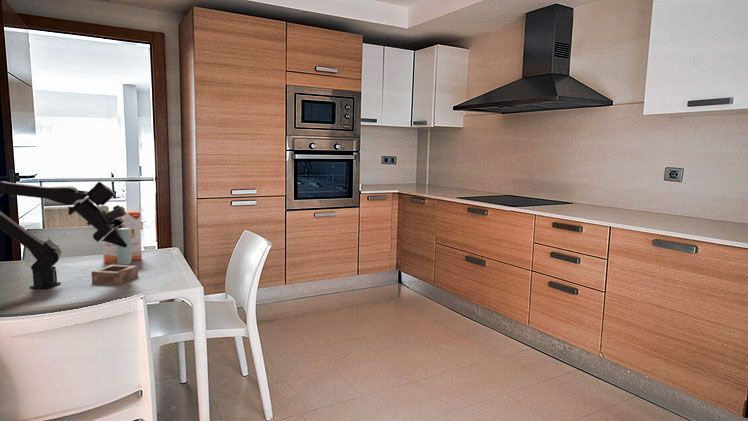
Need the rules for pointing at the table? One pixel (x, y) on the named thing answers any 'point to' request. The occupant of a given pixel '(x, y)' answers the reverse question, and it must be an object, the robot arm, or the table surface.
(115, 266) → the socket base
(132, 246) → the cracker box
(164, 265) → the table surface
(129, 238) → the column
